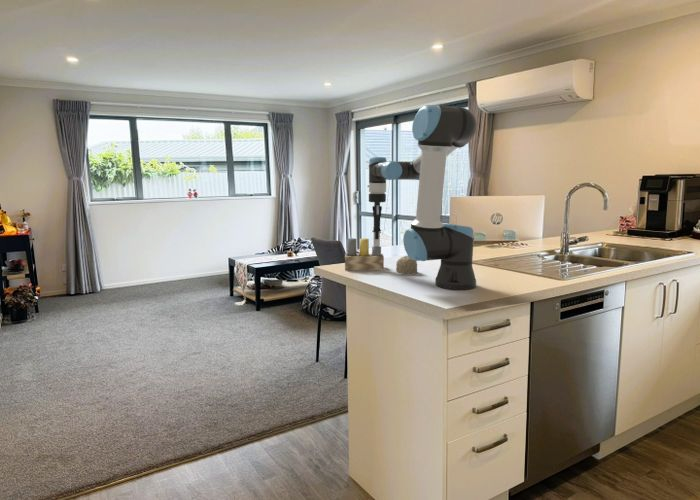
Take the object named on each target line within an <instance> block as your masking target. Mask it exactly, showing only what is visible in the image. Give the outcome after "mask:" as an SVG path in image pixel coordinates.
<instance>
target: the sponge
mask: <svg viewBox="0 0 700 500" xmlns="http://www.w3.org/2000/svg"><path fill="white" fill-rule="evenodd" d="M395 267H396V269H395V271H396V273H397V274H399V275H415V274H417V273H418V261H414V260H412V259H411V258H410V257H409V256H408V255H404V256H401V257H400V258H399V259H397V261H396V266H395Z"/></svg>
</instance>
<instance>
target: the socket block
mask: <svg viewBox="0 0 700 500" xmlns="http://www.w3.org/2000/svg"><path fill="white" fill-rule="evenodd" d="M344 254H345V255H344V271H384V269H385V267H384V266H385V265H384V264H385V259H384V254H383V253H381V256H372V253H369V256H360V253H356V256H347V253H344Z"/></svg>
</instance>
